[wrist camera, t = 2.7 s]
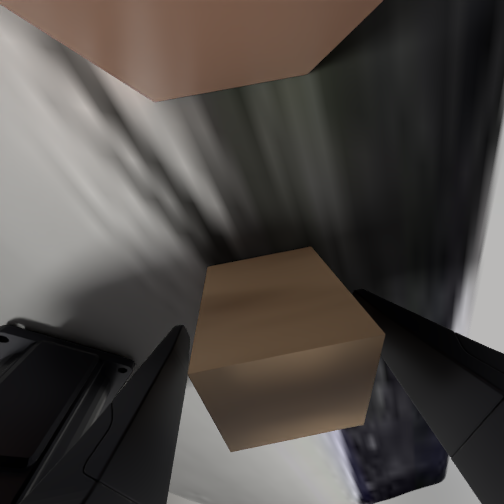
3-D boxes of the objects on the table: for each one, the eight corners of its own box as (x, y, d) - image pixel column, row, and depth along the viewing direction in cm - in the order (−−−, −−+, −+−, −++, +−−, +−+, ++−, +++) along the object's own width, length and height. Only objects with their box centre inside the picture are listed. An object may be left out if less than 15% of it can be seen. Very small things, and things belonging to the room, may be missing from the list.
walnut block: (312, 320, 12) (363, 424, 7) (230, 336, 12) (230, 452, 7) (311, 246, 9) (385, 334, 5) (207, 266, 9) (187, 374, 5)
